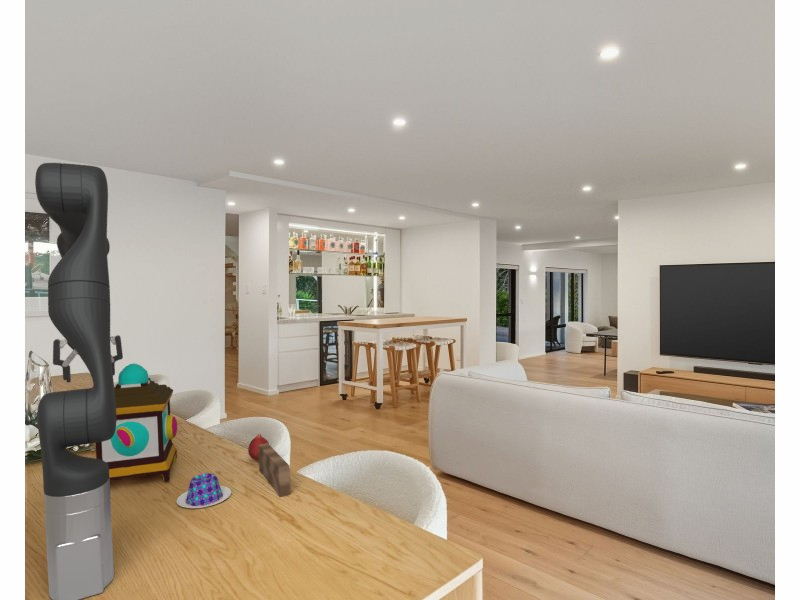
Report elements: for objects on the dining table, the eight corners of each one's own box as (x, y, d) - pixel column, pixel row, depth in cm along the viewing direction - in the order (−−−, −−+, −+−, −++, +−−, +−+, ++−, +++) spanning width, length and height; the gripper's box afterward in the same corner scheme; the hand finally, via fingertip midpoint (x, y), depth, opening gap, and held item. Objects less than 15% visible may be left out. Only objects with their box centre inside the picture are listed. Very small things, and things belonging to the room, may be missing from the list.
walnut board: (290, 494, 115) (289, 465, 115) (279, 497, 114) (279, 467, 114) (268, 468, 132) (267, 443, 131) (259, 470, 131) (258, 444, 130)
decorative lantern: (182, 457, 141) (178, 355, 140) (174, 484, 123) (169, 366, 121) (104, 467, 135) (99, 360, 134) (83, 497, 116) (76, 373, 115)
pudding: (218, 484, 123) (217, 463, 123) (240, 498, 115) (239, 476, 114) (168, 499, 115) (167, 478, 114) (188, 516, 106) (187, 493, 106)
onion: (248, 466, 133) (247, 437, 133) (249, 459, 139) (248, 431, 139) (270, 464, 135) (269, 435, 135) (270, 456, 141) (269, 429, 140)
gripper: (49, 315, 111) (52, 386, 111) (121, 312, 118) (124, 378, 119) (52, 314, 117) (55, 381, 118) (120, 311, 125) (123, 374, 125)
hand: (90, 379), depth 118 cm, fingers open, 8 cm apart
